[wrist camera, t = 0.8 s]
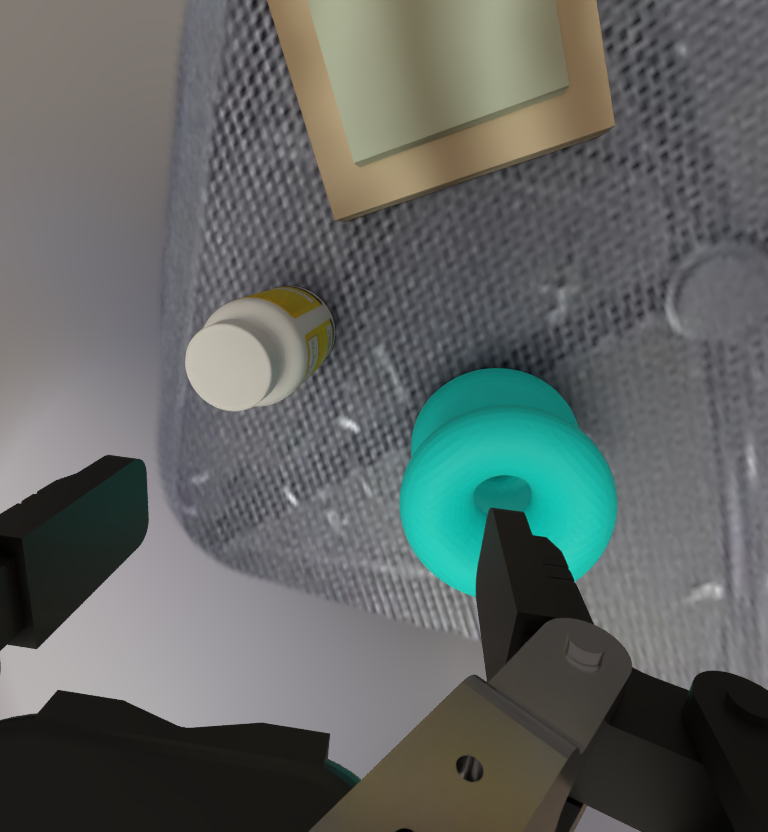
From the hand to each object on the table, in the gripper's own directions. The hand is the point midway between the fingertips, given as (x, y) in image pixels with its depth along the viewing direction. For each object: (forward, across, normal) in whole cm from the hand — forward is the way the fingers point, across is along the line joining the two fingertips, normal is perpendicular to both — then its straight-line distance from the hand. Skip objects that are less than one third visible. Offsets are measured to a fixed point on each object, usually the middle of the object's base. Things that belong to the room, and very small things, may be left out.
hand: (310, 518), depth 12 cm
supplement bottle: (+21, +6, -1) cm, 22 cm away
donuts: (+20, -7, +5) cm, 22 cm away
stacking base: (+20, -1, -16) cm, 26 cm away
